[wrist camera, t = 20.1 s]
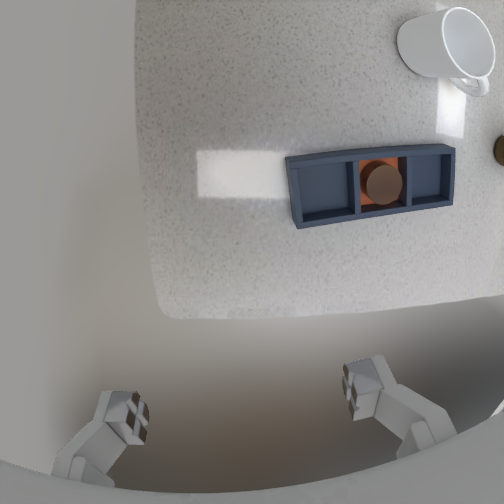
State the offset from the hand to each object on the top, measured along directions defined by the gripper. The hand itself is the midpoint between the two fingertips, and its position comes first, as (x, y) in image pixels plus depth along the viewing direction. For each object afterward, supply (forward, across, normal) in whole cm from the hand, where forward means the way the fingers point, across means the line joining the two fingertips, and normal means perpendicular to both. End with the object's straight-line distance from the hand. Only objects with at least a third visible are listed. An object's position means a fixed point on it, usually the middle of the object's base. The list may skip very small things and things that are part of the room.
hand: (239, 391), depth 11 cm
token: (+28, -18, +2) cm, 34 cm away
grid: (+29, -18, +2) cm, 34 cm away
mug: (+29, -28, -14) cm, 43 cm away
